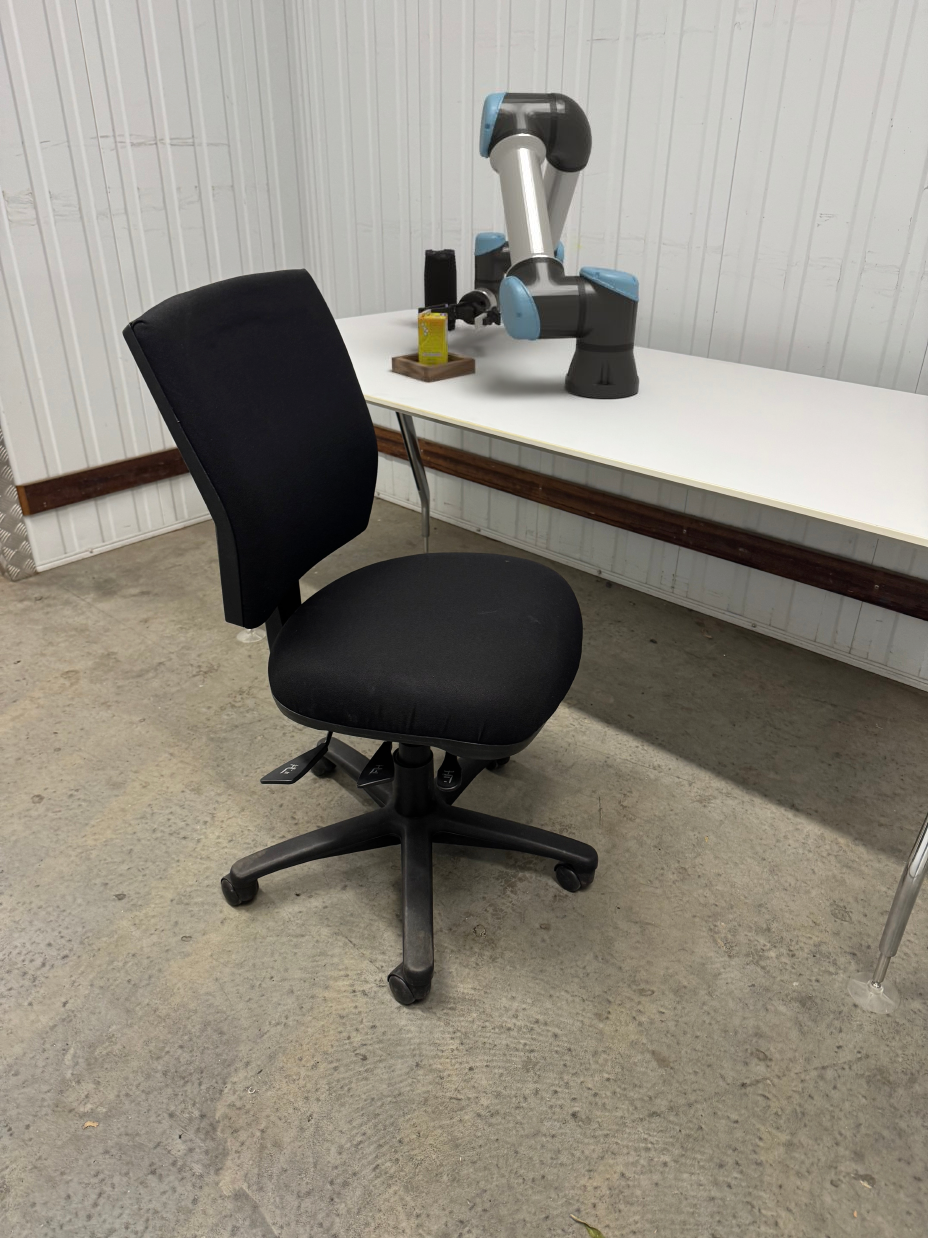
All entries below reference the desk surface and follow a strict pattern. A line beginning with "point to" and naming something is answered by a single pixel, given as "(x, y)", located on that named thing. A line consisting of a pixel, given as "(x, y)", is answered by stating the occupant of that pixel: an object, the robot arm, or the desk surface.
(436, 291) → the portable speaker
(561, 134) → the robot arm
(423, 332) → the supplement box
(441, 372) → the socket block
